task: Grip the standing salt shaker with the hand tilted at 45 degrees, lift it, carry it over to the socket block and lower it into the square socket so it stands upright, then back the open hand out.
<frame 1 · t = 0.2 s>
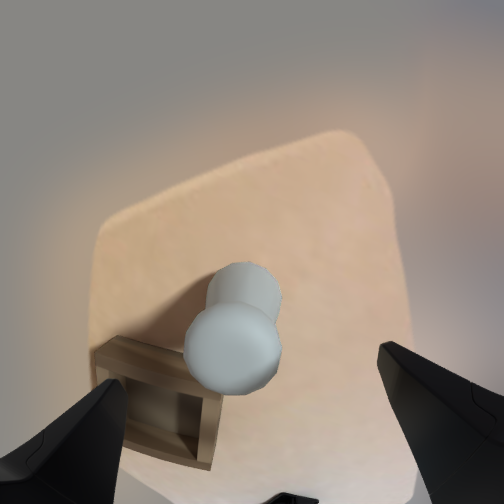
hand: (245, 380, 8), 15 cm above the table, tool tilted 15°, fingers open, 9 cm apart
socket block: (167, 396, 24), on the table
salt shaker: (245, 292, 23), on the table
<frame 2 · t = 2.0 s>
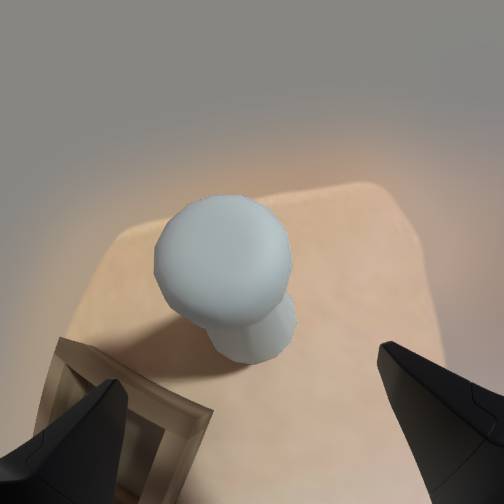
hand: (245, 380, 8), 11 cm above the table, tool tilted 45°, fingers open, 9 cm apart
socket block: (124, 436, 16), on the table
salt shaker: (253, 326, 19), on the table
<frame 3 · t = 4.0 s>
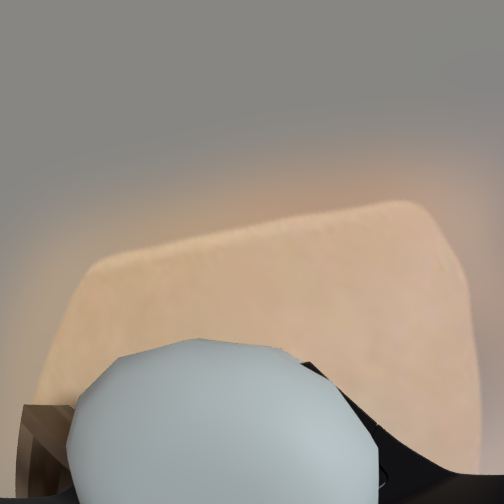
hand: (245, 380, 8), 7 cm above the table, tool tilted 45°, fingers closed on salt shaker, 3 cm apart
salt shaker: (262, 399, 13), on the table, touching gripper
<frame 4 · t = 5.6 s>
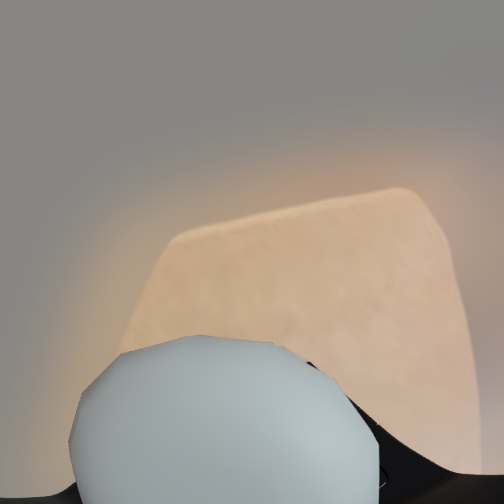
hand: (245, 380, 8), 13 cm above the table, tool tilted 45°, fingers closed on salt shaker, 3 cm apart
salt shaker: (265, 398, 14), point 6 cm above the table, touching gripper
when the fingers open (9 cm above the table, at t = 7.3 s): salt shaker drops 1 cm, resting on socket block.
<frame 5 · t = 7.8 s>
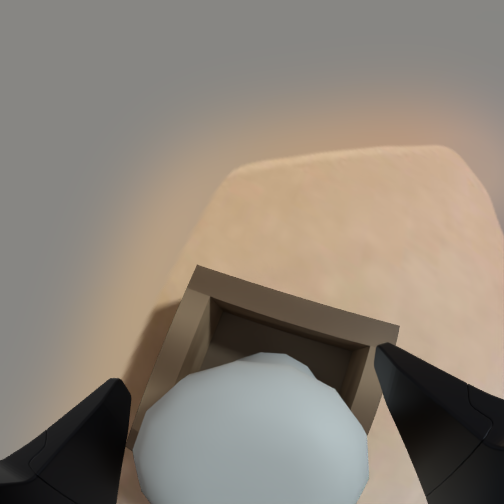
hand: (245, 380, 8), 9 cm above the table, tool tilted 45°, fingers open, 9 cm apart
socket block: (264, 396, 16), on the table
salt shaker: (268, 400, 15), point 1 cm above the table, touching socket block
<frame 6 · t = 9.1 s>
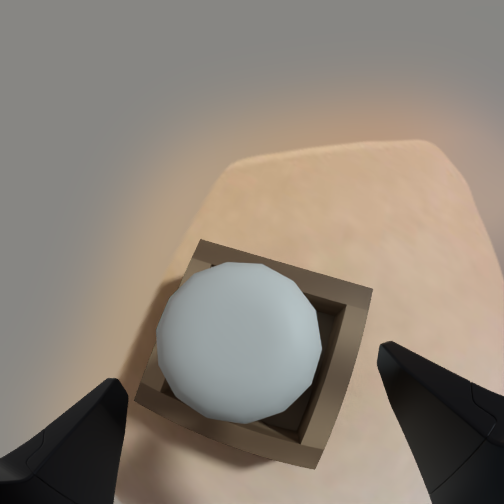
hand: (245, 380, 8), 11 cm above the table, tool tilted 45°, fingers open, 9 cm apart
socket block: (258, 357, 19), on the table
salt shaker: (262, 359, 18), point 1 cm above the table, touching socket block
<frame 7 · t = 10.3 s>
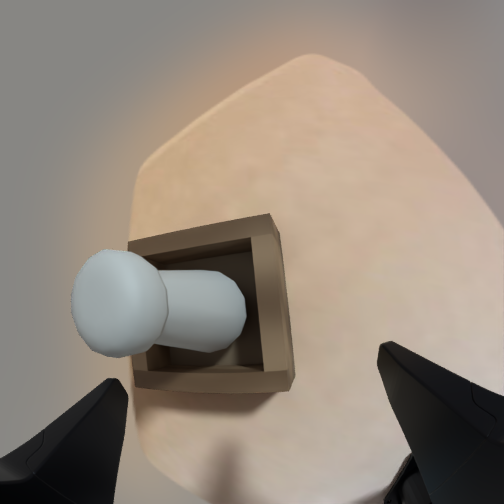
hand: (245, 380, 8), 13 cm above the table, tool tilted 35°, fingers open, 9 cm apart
socket block: (218, 311, 22), on the table
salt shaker: (218, 312, 21), point 1 cm above the table, touching socket block
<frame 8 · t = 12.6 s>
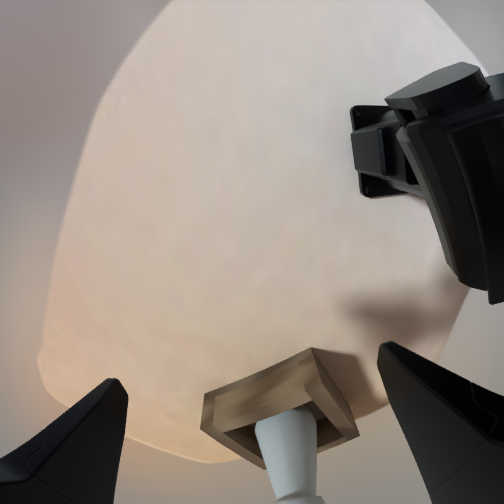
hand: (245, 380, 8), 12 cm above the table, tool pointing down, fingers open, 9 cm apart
socket block: (282, 403, 25), on the table
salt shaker: (282, 407, 24), point 1 cm above the table, touching socket block
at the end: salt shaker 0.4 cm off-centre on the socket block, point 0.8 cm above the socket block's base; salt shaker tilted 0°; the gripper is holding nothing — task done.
